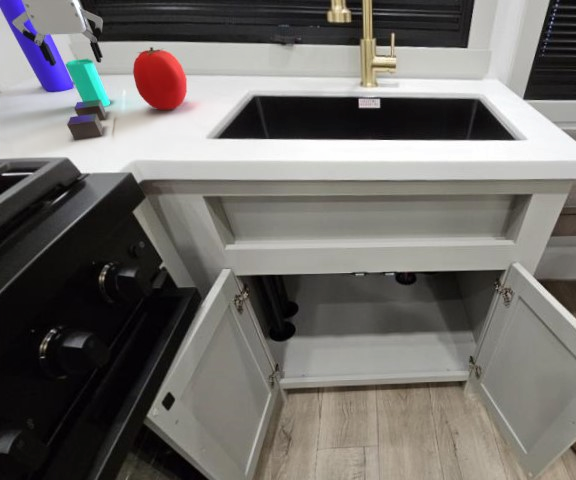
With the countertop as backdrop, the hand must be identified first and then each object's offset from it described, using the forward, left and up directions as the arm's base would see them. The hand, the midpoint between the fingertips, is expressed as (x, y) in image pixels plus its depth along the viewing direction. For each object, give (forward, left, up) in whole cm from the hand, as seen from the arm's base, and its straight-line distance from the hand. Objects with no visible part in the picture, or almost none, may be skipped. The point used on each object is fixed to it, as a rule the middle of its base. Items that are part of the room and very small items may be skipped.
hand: (77, 63), depth 78 cm
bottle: (-12, +27, -11) cm, 31 cm away
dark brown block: (+1, -11, -10) cm, 15 cm away
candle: (0, 0, -11) cm, 11 cm away
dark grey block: (+1, -22, -10) cm, 24 cm away
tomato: (+18, -8, -11) cm, 22 cm away
